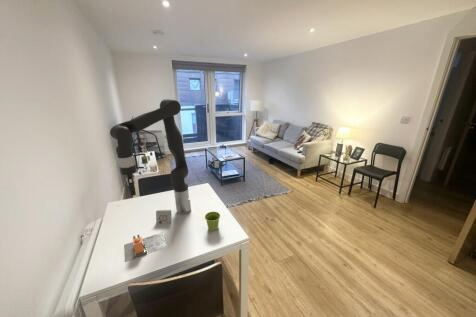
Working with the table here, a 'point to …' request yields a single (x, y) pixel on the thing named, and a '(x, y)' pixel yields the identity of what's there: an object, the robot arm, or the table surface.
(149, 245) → the panel
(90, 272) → the table surface
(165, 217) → the electrical switch
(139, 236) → the breaker slider
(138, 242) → the cap
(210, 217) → the plant pot
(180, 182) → the robot arm
